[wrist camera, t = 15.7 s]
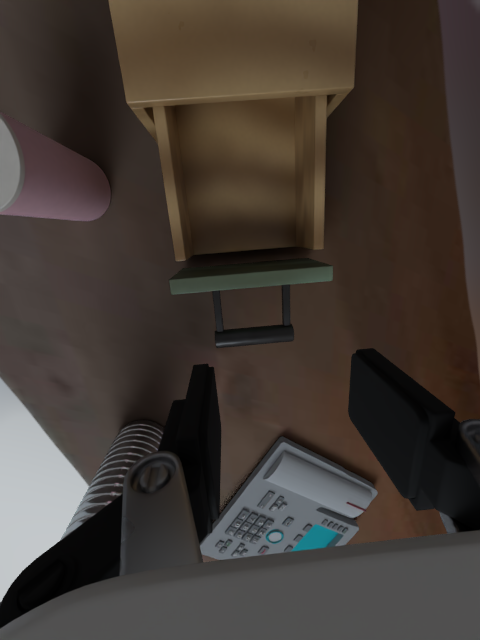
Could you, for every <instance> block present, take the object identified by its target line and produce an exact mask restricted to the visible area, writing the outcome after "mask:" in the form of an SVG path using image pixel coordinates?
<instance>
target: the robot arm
mask: <svg viewBox="0 0 480 640" xmlns="http://www.w3.org/2000/svg"><path fill="white" fill-rule="evenodd" d="M348 412H349V417H350V419H351V421H352V422H353V424H354V425H355V427H356V428H357V430H358V431H359V433H360V434H361V436H362V437H363V439H364V440H365V442H366V443H367V445H368V446H369V448H370V449H371V451H372V452H373V454H374V455H375V457H376V458H377V460H378V461H379V463H380V464H381V466H382V467H383V469H384V470H385V472H386V473H387V475H388V476H389V477H390V479H391V480H392V482H393V483H394V485H395V486H396V488H397V489H398V491H399V492H400V494H401V495H402V496H403V497H404V498H406V499H407V498H408V499H409V500H410V502H411V503H412V505H413V506H414V508H415V509H416V511H418V510H427V509H434V508H435V509H436V510H438V511H440V515H441V519H442V521H443V523H444V526H445V528H446V530H447V533H448V534H440V535H431V536H422V537H413V538H405V539H396V540H387V541H378V542H369V543H361V544H352V545H343V546H334V547H326V548H317V549H309V550H301V551H292V552H284V553H276V554H267V555H259V556H250V557H242V558H234V559H225V560H218V561H211V562H204V563H203V559H202V554H201V549H200V545H199V544H200V543H201V542H202V541H203V539H204V538H205V537H206V536H207V534H210V533H212V527H213V520H214V519H219V511H220V465H221V422H220V414H219V405H218V397H217V389H216V381H215V373H214V367H209V366H208V364H200V365H194V366H193V370H192V374H191V378H190V382H189V387H188V391H187V395H186V399H184V400H174V401H173V403H172V406H171V409H170V413H169V416H168V419H167V422H166V425H165V429H164V432H163V435H162V438H161V441H160V445H159V448H158V451H157V452H153V453H150V454H148V455H145V456H143V457H142V458H140V459H139V460H138V461H136V462H135V463H134V464H133V465H132V466H131V467H130V468H129V470H128V472H127V473H126V475H125V478H124V483H123V494H121V495H120V496H119V497H117V498H116V499H115V500H113V501H112V502H111V503H109V504H108V505H107V506H105V507H104V508H103V509H101V510H100V511H99V512H97V513H96V514H95V515H94V516H92V517H91V518H90V519H88V520H87V521H86V522H84V523H83V524H82V525H80V526H79V527H78V528H76V529H75V530H74V531H72V532H71V533H70V534H68V535H67V536H66V537H65V538H63V539H62V540H61V541H59V542H58V543H57V544H55V545H54V546H53V547H51V548H50V549H49V550H47V551H46V552H45V553H43V554H42V555H41V556H39V557H38V558H37V559H36V560H34V561H33V562H32V563H31V564H30V565H29V566H28V567H26V568H25V569H24V570H23V571H22V572H21V574H20V575H19V576H18V577H17V578H16V580H15V581H14V582H13V583H12V585H11V586H10V588H9V589H8V591H7V593H6V595H5V596H4V598H3V600H2V602H0V640H480V420H479V419H469V420H465V421H462V422H461V423H460V422H458V421H457V420H456V419H455V418H454V416H455V412H454V411H453V410H452V409H450V408H449V407H448V406H446V405H445V404H444V403H443V402H441V401H440V400H439V399H438V398H436V397H435V396H434V395H432V394H431V393H430V392H429V391H427V390H426V389H425V388H423V387H422V386H421V385H420V384H418V383H417V382H416V381H414V380H413V379H412V378H411V377H409V376H408V375H407V374H405V373H404V372H403V371H402V370H400V369H399V368H398V367H397V366H395V365H394V364H393V363H391V362H390V361H389V360H388V359H386V358H385V357H384V356H382V355H381V354H380V353H379V352H377V351H376V350H375V349H373V348H370V349H359V350H357V351H356V353H355V354H353V355H352V359H351V375H350V391H349V407H348Z"/></svg>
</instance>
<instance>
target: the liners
mask: <svg viewBox="0 0 480 640" xmlns="http://www.w3.org/2000/svg"><path fill="white" fill-rule="evenodd" d="M110 200H111V189H110V185H109V182H108V179H107V177H106V175H105V174H104V172H103V171H102V170H101V168H100V167H99V166H98V165H96V164H95V163H94V162H93V161H91V160H89V159H87V158H85V157H84V156H82V155H80V154H78V153H76V152H74V151H72V150H71V149H69V148H67V147H65V146H63V145H61V144H59V143H58V142H56V141H54V140H52V139H50V138H48V137H46V136H45V135H43V134H41V133H39V132H37V131H35V130H33V129H32V128H30V127H28V126H26V125H24V124H22V123H20V122H19V121H17V120H15V119H13V118H11V117H9V116H7V115H6V114H4V113H2V112H0V214H3V215H15V216H27V217H39V218H52V219H64V220H76V221H92V220H95V219H97V218H99V217H101V216H102V215H103V214H104V213H105V212H106V210H107V209H108V207H109V204H110Z"/></svg>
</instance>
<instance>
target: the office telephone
mask: <svg viewBox="0 0 480 640" xmlns="http://www.w3.org/2000/svg"><path fill="white" fill-rule="evenodd" d="M376 495H377V491H376V489H375V487H374V486H373V484H372V483H371V482H369V481H367V480H365V479H364V478H362V477H360V476H358V475H356V474H354V473H352V472H350V471H348V470H346V469H344V468H343V467H342V466H340V465H338V464H336V463H334V462H332V461H330V460H328V459H326V458H324V457H322V456H320V455H318V454H316V453H314V452H312V451H310V450H308V449H306V448H304V447H302V446H300V445H298V444H296V443H294V442H292V441H290V440H289V439H287V438H285V437H283V436H282V437H280V438H279V439H278V440H277V441H276V443H275V444H274V445H273V446H272V448H271V449H270V450H269V452H268V453H267V454H266V455H265V457H264V458H263V459H262V461H261V462H260V463H259V465H258V466H257V467H256V468H255V470H254V471H253V472H252V474H251V475H250V476H249V478H248V479H247V480H246V482H245V483H244V484H243V485H242V487H241V488H240V489H239V491H238V492H237V493H236V495H235V496H234V497H233V499H232V500H231V501H230V502H229V504H228V505H227V506H226V508H225V509H224V510H223V512H222V513H221V514H220V516H219V519H216V521H215V522H214V523H213V527H212V533H210V534H207V536H206V537H205V538H204V539H203V541H202V542H201V543H200V544H199V545H200V549H201V554H203V555H206V556H209V557H212V558H215V559H219V560H225V559H234V558H242V557H250V556H259V555H267V554H276V553H284V552H292V551H301V550H309V549H317V548H326V547H334V546H343V545H345V544H346V543H347V542H348V541H349V540H350V539H351V538H352V537H353V536H354V534H355V533H356V532H357V531H358V530H359V527H358V525H357V523H356V521H355V520H354V519H349V518H355V517H357V516H359V515H360V514H361V513H363V512H364V511H365V512H366V508H367V507H368V505H369V504H370V502H371V501H372V500H373V499H374V498H375V496H376ZM325 508H326V509H325ZM328 509H329V510H328ZM330 510H331V511H330ZM332 511H334V512H332ZM335 512H336V513H335ZM337 513H339V514H341V515H339V514H337ZM342 515H344V516H346V517H344V516H342ZM347 517H349V518H347Z"/></svg>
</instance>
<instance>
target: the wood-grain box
mask: <svg viewBox="0 0 480 640" xmlns="http://www.w3.org/2000/svg"><path fill="white" fill-rule="evenodd" d="M108 1H109V7H110V12H111V18H112V24H113V29H114V35H115V40H116V46H117V52H118V57H119V63H120V69H121V74H122V80H123V86H124V91H125V97H126V102H127V104H128V105H129V107H130V108H131V109H132V110H133V112H134V113H135V114H136V116H137V117H138V118H139V120H140V121H141V122H142V124H143V125H144V126H145V128H146V129H147V130H148V132H149V133H150V134H151V135H152V137H153V138H154V139H155V141H156V142H157V143H158V141H157V135H156V128H155V122H154V115H153V108H152V107H158V106H172V105H187V104H201V103H216V102H230V101H244V100H259V99H273V98H288V97H302V96H316V95H327V117H328V116H329V115H330V114H331V113H332V112H333V110H334V109H335V108H336V107H337V106H338V105H339V104H340V103H341V101H342V100H343V99H344V98H345V97H346V96H347V95H348V93H349V92H350V91H351V90H352V89H353V88H354V77H355V56H356V36H357V15H358V0H108Z"/></svg>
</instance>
